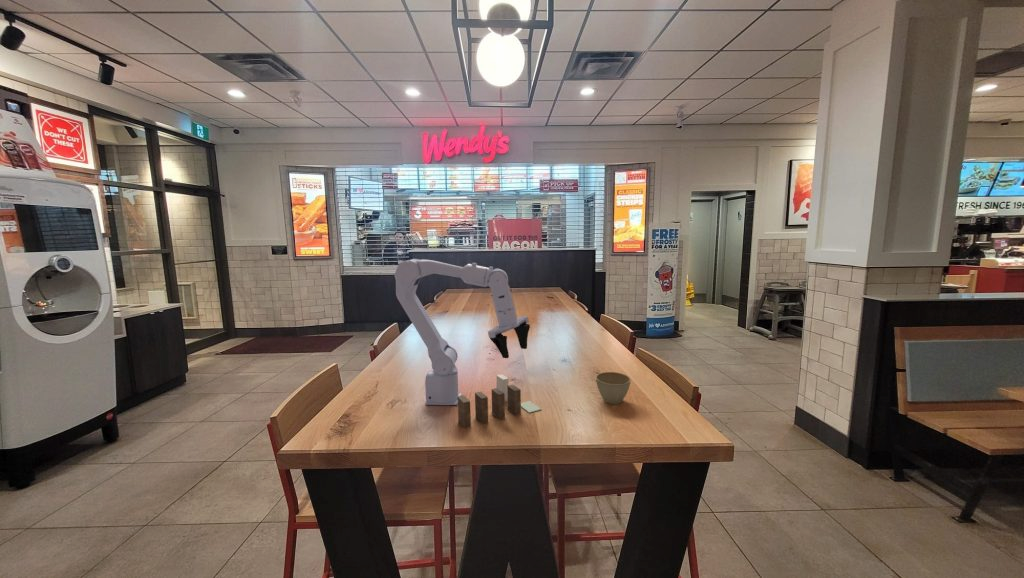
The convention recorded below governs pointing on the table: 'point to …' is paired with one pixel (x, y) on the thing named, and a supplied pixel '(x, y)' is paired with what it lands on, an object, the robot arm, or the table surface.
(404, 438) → the table surface
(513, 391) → the domino
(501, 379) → the domino
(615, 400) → the flower pot
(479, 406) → the domino
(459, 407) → the domino
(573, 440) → the table surface
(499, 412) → the domino
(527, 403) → the pad
